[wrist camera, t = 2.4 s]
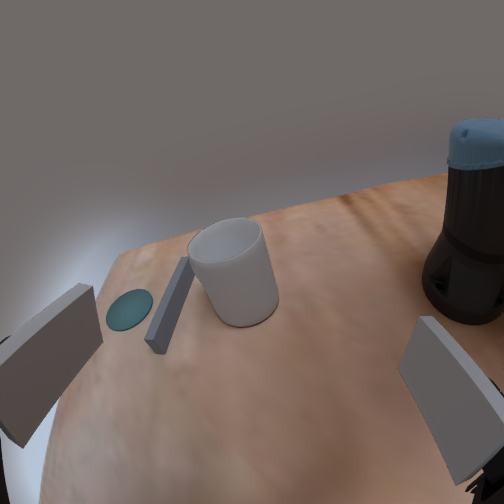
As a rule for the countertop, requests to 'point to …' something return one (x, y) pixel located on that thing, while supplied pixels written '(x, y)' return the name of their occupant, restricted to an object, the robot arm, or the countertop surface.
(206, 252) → the mug
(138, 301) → the pad
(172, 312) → the wall
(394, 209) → the countertop surface
